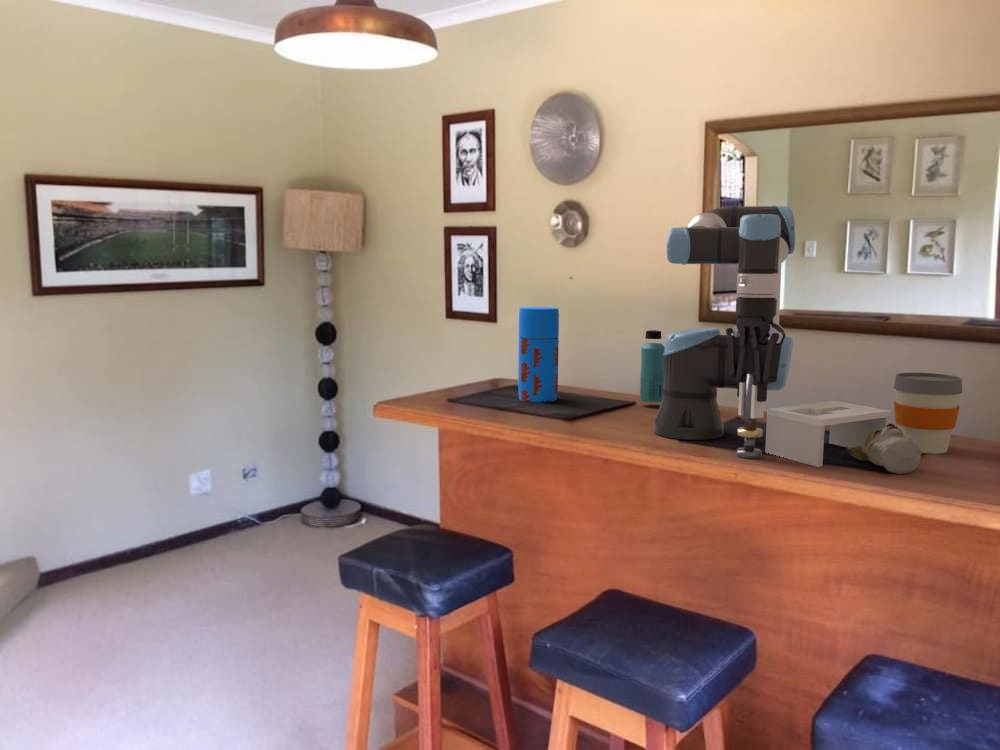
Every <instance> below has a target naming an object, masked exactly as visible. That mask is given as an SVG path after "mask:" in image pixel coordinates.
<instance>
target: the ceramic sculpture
mask: <svg viewBox="0 0 1000 750" xmlns="http://www.w3.org/2000/svg"><path fill="white" fill-rule="evenodd" d="M844 449H845V451H846V452H847V453H848V454H849V455H850V456H852V457H853V459H854V458H855V459H856V460H860V461H870V462H871V463H873V464H874V465H876V466H878V465H879V467H881V466H883V467H882V468H884V469H886V471H888V473H893V474H897V475H904V474H908V473H912V472H914V471H915V470H916V469H917V467H918V466H919V465H920V462H921V458H922V453H921V452H920V449H919V446H918V445H917V443H916V441H914V440H912V438H906V437H905V436H904V434H903V432H902V430H901V429H900V428H898V426H896V425H895V424H893V423H890V424H888V425H887V426H886V427H885V428H882V429H875V430H873V431H872V432H871V433H870V434H869V436H868V437H867V440H866V442H865V443H864V446H856V447H853V448H852V447H844Z"/></svg>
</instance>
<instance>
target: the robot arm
mask: <svg viewBox="0 0 1000 750" xmlns="http://www.w3.org/2000/svg"><path fill="white" fill-rule="evenodd" d="M795 224H796V223H795V216H794V211H793V210H792V209H791V208H790V207H789V206H783V205H781V206H780V205H776V204H773V205H771V206H769V205H765V206H764V205H763V206H762V205H761V206H760V205H758V206H752V205H751V206H747V205H746V206H722V207H721V206H720V207H717V208H713V209H710V210H706V211H704V212H701V213H699V214H697V215H695V217H693V218H692V219H691V220H690V222H689V223H688V225H687V226H681V227H671V228H669V230H668V233H667V236H666V237H667V238H666V259H667V261H668V263H670V264H672V265H673V264H677V265H684V266H685V265H737V274H736V275H737V277H736V278H737V279H736V281H737V282H736V294H738V295H739V296H738V297H736V299H735V315H736V316H737V321H736V325H735V326H733V327H727V328H726V329H725V333H726V334H721V331H720V328H718V327H705V328H703V327H701V328H692V329H683V330H678V331H673V332H671V333H669V334H668V335H667V336H666V338H665V341H664V347H665V351H664V384H663V399H662V402H660V406H659V409H658V413H657V416H656V418H655V420H654V421H653V423H654V424H653V433H655V434H656V435H658V436H660V437H661V436H662V437H665V438H669V439H670V438H671V439H677V440H688V441H689V440H691V441H703V440H705V441H706V440H714V439H719V438H721V437H722V438H723V436H724V430H725V429H724V428H725V427H724V422H723V421H722V416H721V412H720V408H719V404H718V389H730V390H731V389H732V390H737V392H736V395H737V398H738V410H737V411H738V413H737V416H739V417H740V416H741V417H743V416H744V414H745V393H746V373H755V380H756V382H753V385H752V397H751V418H753V419H755V418H757V419H761V418H762V419H763V418H764V416H765V415H764V414H765V411H764V410H765V402H767V400H768V399H767V398H768V391H780V390H782V389H784V388H785V386H786V384H787V381H788V377H789V372H790V368H791V367H790V366H791V360H792V354H793V345H794V344H793V342H794V341H793V340H794V339H793V338H792V337H791V336H790V337H789V336H788V335H787V334H786V331H785V329H784V328H783V327H782V326H781V325H780V310H781V306H780V305H781V284H782V283H781V281H782V264H783V263H784V262H785V261H786V259H787V257H788V255H791V254H793V253H794V252H795V247H796V229H795V227H796V226H795Z"/></svg>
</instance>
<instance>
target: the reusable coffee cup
mask: <svg viewBox="0 0 1000 750" xmlns="http://www.w3.org/2000/svg"><path fill="white" fill-rule="evenodd" d="M893 389H895V391H894V392H895V400H894V401H893V407H894V423H895V424H896V425H897V427H898V428H900V429H901V430H902V432H903V434H904V436H905V437H906V438H912V440H914V441H916V443H917V445H918V446H919V449H920V452H921V454H945V453H947V452H948V450H949V449H948V448H949V445H950V441H951V437H952V432H953V429H956V424H957V420H958V415H959V411H960V409H961V408H960V405H959V401H960V397H961V394H963V379H962V378H961V377H960V376H957V375H956V376H955V375H951V374H945V373H944V374H943V373H942V374H941V373H932V372H900V373H896V374H895V378H894V385H893Z"/></svg>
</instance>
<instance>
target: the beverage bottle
mask: <svg viewBox="0 0 1000 750" xmlns="http://www.w3.org/2000/svg"><path fill="white" fill-rule="evenodd" d="M644 337H645V339H647V340H662V331H660V330H656V329H655V330H653V329H652V330H651V329H649V330H646V331H645V336H644ZM640 349H641V350H640V351H641V352H640V354H641V355H640V382H639V399H640V401H641V402H643V403H655V404H656V403H661V402H662V399H663V384H664V351H665V345H664V344H662V343H661V342H660V343H659V342H645V343H644V344H643V345H642V346H641V348H640Z"/></svg>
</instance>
